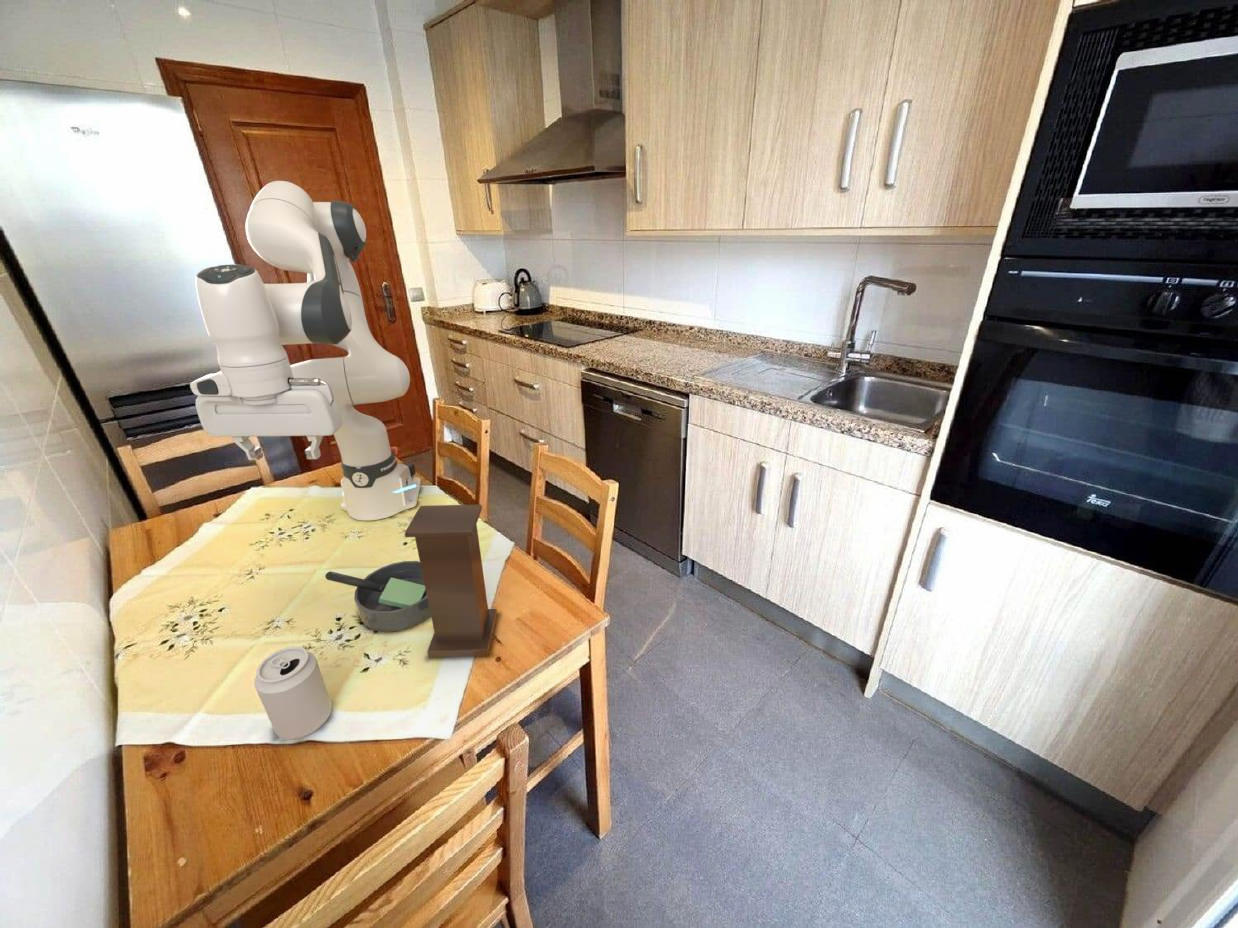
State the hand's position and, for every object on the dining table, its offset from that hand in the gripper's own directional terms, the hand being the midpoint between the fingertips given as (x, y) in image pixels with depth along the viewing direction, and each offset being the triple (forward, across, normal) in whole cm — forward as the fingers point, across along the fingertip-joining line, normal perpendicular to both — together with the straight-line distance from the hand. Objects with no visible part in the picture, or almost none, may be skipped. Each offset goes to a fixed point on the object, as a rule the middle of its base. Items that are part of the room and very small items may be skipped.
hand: (285, 458), depth 84 cm
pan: (+31, -14, +1) cm, 34 cm away
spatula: (+27, -9, +1) cm, 29 cm away
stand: (+31, -28, +10) cm, 43 cm away
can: (+31, -8, +26) cm, 41 cm away
